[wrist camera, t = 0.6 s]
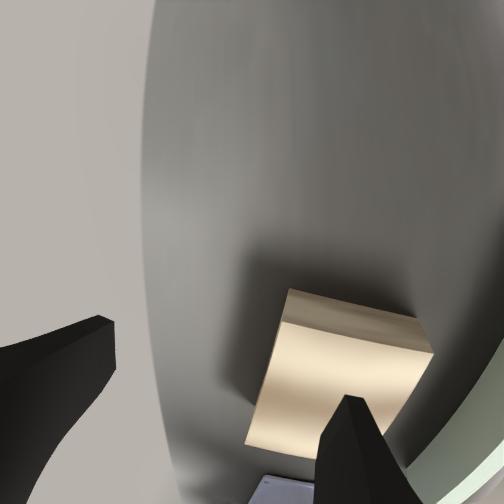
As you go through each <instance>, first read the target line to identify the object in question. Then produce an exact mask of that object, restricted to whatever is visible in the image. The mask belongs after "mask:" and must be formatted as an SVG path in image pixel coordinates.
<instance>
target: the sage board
mask: <svg viewBox="0 0 504 504" xmlns="http://www.w3.org/2000/svg"><path fill="white" fill-rule="evenodd" d="M503 466H504V338H503V340H502V342H501V343H500V345H499V347H498V349H497V350H496V352H495V354H494V355H493V357H492V359H491V360H490V362H489V364H488V365H487V367H486V369H485V370H484V372H483V373H482V375H481V376H480V378H479V379H478V381H477V382H476V384H475V385H474V387H473V388H472V390H471V391H470V393H469V394H468V396H467V397H466V398H465V400H464V401H463V403H462V404H461V405H460V407H459V408H458V409H457V411H456V412H455V413H454V415H453V416H452V417H451V418H450V420H449V421H448V422H447V424H446V425H445V426H444V427H443V428H442V430H441V431H440V432H439V433H438V435H437V436H436V437H435V438H434V439H433V440H432V442H431V443H430V444H429V445H428V446H427V447H426V448H425V450H424V451H423V452H422V453H421V454H420V455H419V456H418V457H417V458H416V459H415V460H414V461H413V463H412V464H411V465H410V466H409V467H408V468H407V469H406V471H407V478H408V482H409V484H410V485H411V487H412V488H413V490H414V491H415V493H416V494H417V496H418V497H419V498H420V500H421V501H422V502H423V504H461V503H462V502H463V501H464V500H466V499H467V498H468V497H469V496H471V495H472V494H473V493H474V492H475V491H476V490H478V489H479V488H480V487H481V486H482V485H483V484H485V483H486V482H487V481H488V480H489V479H490V478H491V477H492V476H493V475H494V474H495V473H497V472H498V471H499V470H500V469H501V468H502V467H503Z"/></svg>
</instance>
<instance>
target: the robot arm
mask: <svg viewBox="0 0 504 504" xmlns="http://www.w3.org/2000/svg"><path fill="white" fill-rule="evenodd" d="M115 370H116V359H115V334H114V321H112V320H109V319H107V318H105V317H103V316H100V315H97V316H94V317H91V318H88V319H85V320H82V321H79V322H77V323H74V324H71V325H69V326H66V327H63V328H60V329H58V330H55V331H52V332H50V333H47V334H44V335H41V336H38V337H35V338H32V339H29V340H25V341H22V342H19V343H16V344H12V345H9V346H5V347H1V348H0V504H26V503H27V500H28V498H29V496H30V494H31V492H32V490H33V488H34V486H35V483H36V481H37V480H38V478H39V476H40V474H41V472H42V471H43V469H44V467H45V465H46V463H47V462H48V460H49V459H50V457H51V455H52V454H53V452H54V451H55V449H56V447H57V446H58V444H59V443H60V441H61V440H62V439H63V437H64V436H65V435H66V434H67V432H68V431H69V430H70V429H71V428H72V426H73V425H74V424H75V423H76V422H77V421H78V419H79V418H80V417H81V416H82V415H83V413H84V412H85V411H86V410H87V409H88V408H89V406H90V405H91V404H92V403H93V402H94V400H95V399H96V398H97V397H98V396H99V394H100V393H101V392H102V390H103V389H104V387H105V386H106V384H107V383H108V381H109V380H110V378H111V376H112V375H113V373H114V371H115ZM248 504H423V502H422V501H421V500H420V498H419V497H418V496H417V494H416V493H415V491H414V490H413V488H412V487H411V485H410V484H409V482H408V481H407V479H406V477H405V476H404V474H403V472H402V471H401V469H400V467H399V466H398V464H397V462H396V460H395V459H394V457H393V455H392V453H391V451H390V449H389V447H388V445H387V444H386V442H385V440H384V438H383V436H382V434H381V432H380V430H379V428H378V426H377V424H376V421H375V419H374V417H373V415H372V413H371V411H370V409H369V407H368V405H367V403H366V401H365V399H364V398H362V397H357V396H352V395H347V394H345V395H344V396H343V398H342V400H341V402H340V403H339V405H338V407H337V409H336V410H335V412H334V414H333V415H332V417H331V419H330V420H329V422H328V424H327V425H326V427H325V429H324V430H323V432H322V433H321V435H320V440H319V445H318V451H317V457H316V463H315V479H314V483H307V482H301V481H296V480H291V479H285V478H281V477H276V476H271V475H265V476H263V478H262V480H261V482H260V483H259V485H258V487H257V489H256V490H255V492H254V494H253V496H252V497H251V499H250V501H249V502H248Z"/></svg>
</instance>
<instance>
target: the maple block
mask: <svg viewBox="0 0 504 504" xmlns="http://www.w3.org/2000/svg"><path fill="white" fill-rule="evenodd" d="M433 355H434V353H433V351H432V348H431V346H430V344H429V342H428V340H427V338H426V336H425V333H424V331H423V329H422V327H421V325H420V323H419V321H418V319H417V318H413V317H409V316H404V315H400V314H396V313H391V312H387V311H382V310H378V309H374V308H370V307H365V306H361V305H357V304H352V303H348V302H344V301H340V300H336V299H332V298H327V297H323V296H319V295H315V294H311V293H307V292H303V291H299V290H295V289H291V288H289V291H288V295H287V298H286V302H285V306H284V309H283V313H282V317H281V320H280V324H279V328H278V331H277V335H276V338H275V342H274V345H273V349H272V352H271V356H270V359H269V363H268V366H267V369H266V373H265V376H264V380H263V383H262V386H261V390H260V393H259V396H258V399H257V403H256V406H255V409H254V413H253V416H252V420H251V423H250V427H249V430H248V434H247V437H246V441H245V444H246V445H250V446H254V447H258V448H262V449H267V450H271V451H275V452H280V453H285V454H290V455H295V456H300V457H306V458H312V459H316V457H317V451H318V445H319V440H320V435H321V433H322V432H323V430H324V429H325V427H326V425H327V424H328V422H329V420H330V419H331V417H332V415H333V414H334V412H335V410H336V409H337V407H338V405H339V403H340V402H341V400H342V398H343V396H344V395H345V394H347V395H352V396H357V397H362V398H364V399H365V401H366V403H367V405H368V407H369V409H370V411H371V413H372V415H373V417H374V419H375V421H376V424H377V426H378V428H379V430H380V432H381V434H382V436H383V434H384V433H385V431H386V430H387V429H388V427H389V426H390V424H391V423H392V421H393V420H394V419H395V417H396V416H397V414H398V413H399V411H400V410H401V408H402V407H403V405H404V404H405V402H406V400H407V399H408V397H409V396H410V394H411V393H412V391H413V389H414V388H415V386H416V384H417V383H418V381H419V379H420V378H421V376H422V374H423V373H424V371H425V369H426V367H427V366H428V364H429V362H430V360H431V358H432V357H433Z"/></svg>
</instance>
